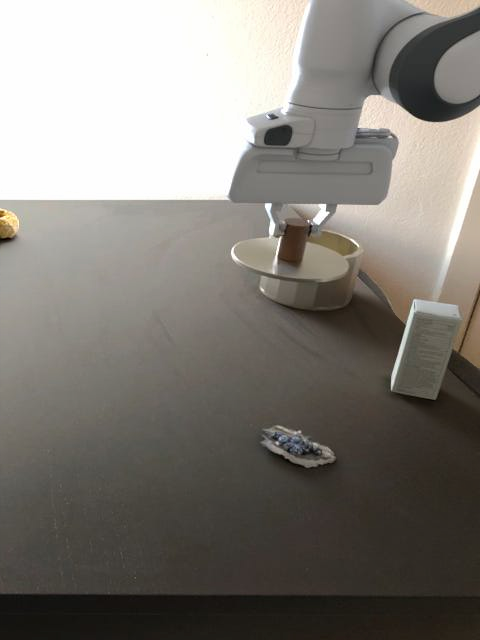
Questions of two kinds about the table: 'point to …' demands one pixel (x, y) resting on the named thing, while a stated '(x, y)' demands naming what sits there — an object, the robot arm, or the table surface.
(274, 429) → the blueberries
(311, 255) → the lid
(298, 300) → the pot
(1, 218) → the bagel
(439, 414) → the table surface
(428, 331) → the box
